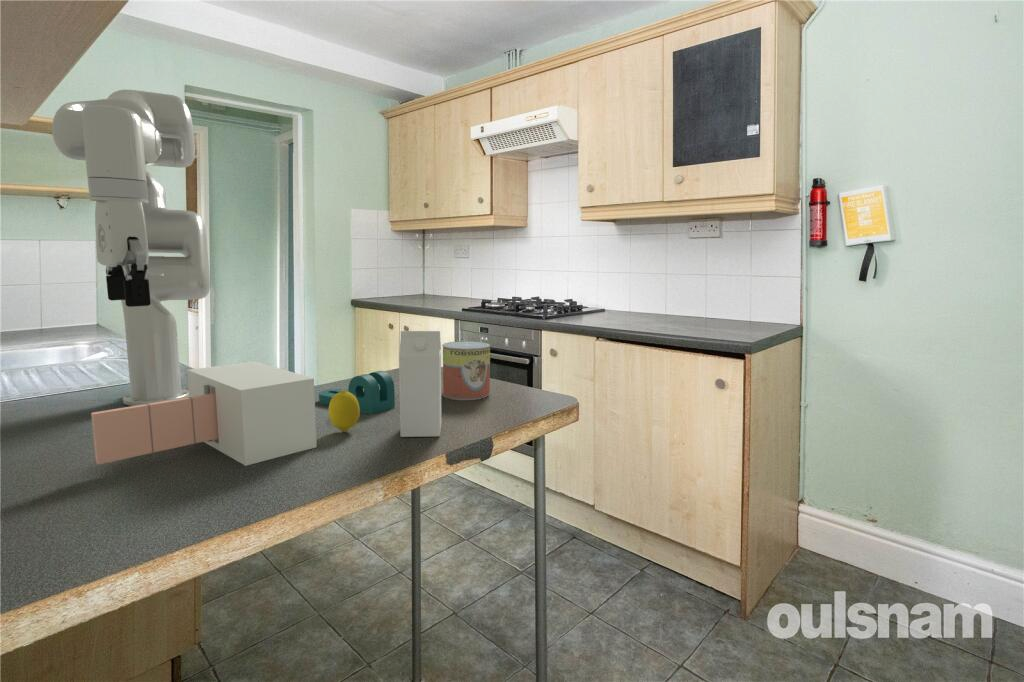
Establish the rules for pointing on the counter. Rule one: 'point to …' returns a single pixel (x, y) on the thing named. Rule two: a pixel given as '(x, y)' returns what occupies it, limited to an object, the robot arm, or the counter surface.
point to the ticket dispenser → (258, 410)
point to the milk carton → (420, 383)
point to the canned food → (466, 370)
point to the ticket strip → (153, 427)
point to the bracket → (367, 392)
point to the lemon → (344, 410)
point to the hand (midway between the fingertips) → (129, 302)
